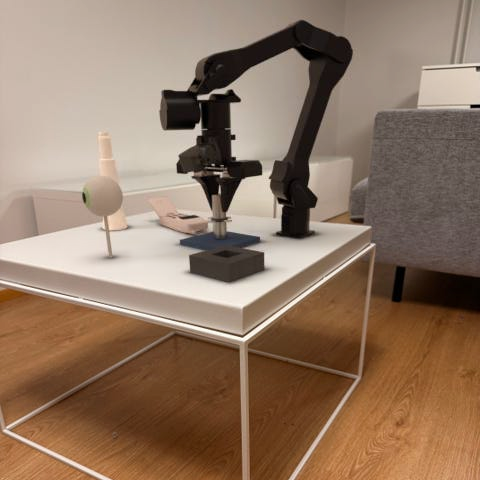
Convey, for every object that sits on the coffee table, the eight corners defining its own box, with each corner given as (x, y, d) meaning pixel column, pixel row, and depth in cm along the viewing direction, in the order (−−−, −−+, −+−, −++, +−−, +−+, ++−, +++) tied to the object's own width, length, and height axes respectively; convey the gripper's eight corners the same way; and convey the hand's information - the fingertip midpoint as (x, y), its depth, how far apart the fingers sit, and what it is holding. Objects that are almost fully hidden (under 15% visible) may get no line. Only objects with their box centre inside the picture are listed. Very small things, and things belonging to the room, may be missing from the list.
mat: (219, 234, 106) (219, 229, 106) (260, 241, 99) (260, 236, 98) (179, 244, 98) (179, 239, 97) (221, 253, 90) (221, 248, 90)
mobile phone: (166, 195, 124) (213, 207, 104) (168, 218, 126) (215, 233, 107) (144, 198, 121) (189, 210, 101) (147, 221, 123) (191, 237, 104)
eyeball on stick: (85, 256, 90) (73, 175, 84) (120, 250, 94) (110, 172, 88) (100, 264, 85) (88, 179, 79) (136, 257, 89) (127, 175, 83)
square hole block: (226, 260, 85) (225, 244, 84) (264, 269, 80) (264, 252, 79) (189, 272, 79) (188, 255, 78) (229, 282, 74) (228, 264, 72)
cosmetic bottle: (120, 230, 112) (109, 132, 103) (98, 230, 113) (84, 132, 105) (131, 225, 117) (121, 131, 109) (110, 225, 119) (98, 132, 110)
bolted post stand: (219, 233, 102) (218, 191, 98) (240, 237, 98) (239, 193, 95) (200, 239, 98) (197, 195, 94) (220, 242, 94) (218, 197, 90)
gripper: (152, 130, 90) (159, 212, 96) (222, 129, 78) (225, 222, 84) (194, 129, 98) (198, 205, 104) (264, 128, 86) (264, 213, 92)
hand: (219, 211), depth 96 cm, fingers closed on bolted post stand, 3 cm apart
